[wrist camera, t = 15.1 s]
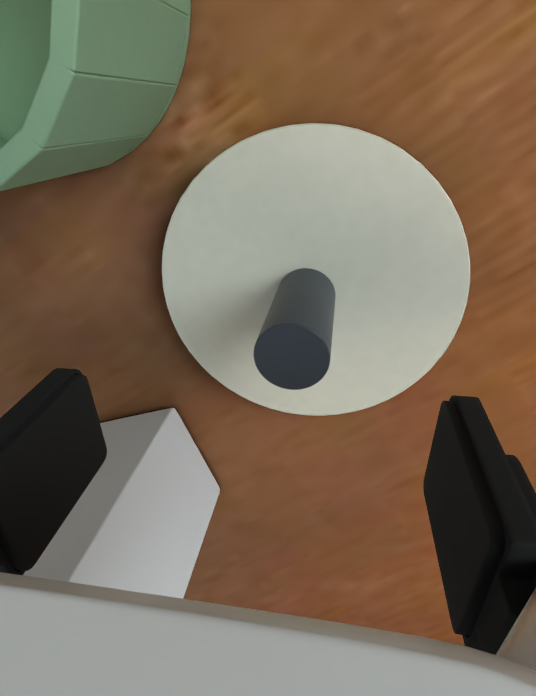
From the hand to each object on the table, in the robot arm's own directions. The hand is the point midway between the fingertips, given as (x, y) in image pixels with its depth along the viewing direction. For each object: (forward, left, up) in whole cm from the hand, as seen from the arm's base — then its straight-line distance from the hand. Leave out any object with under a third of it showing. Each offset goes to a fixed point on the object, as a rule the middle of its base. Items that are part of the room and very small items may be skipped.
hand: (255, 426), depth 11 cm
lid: (0, 0, -10) cm, 10 cm away
